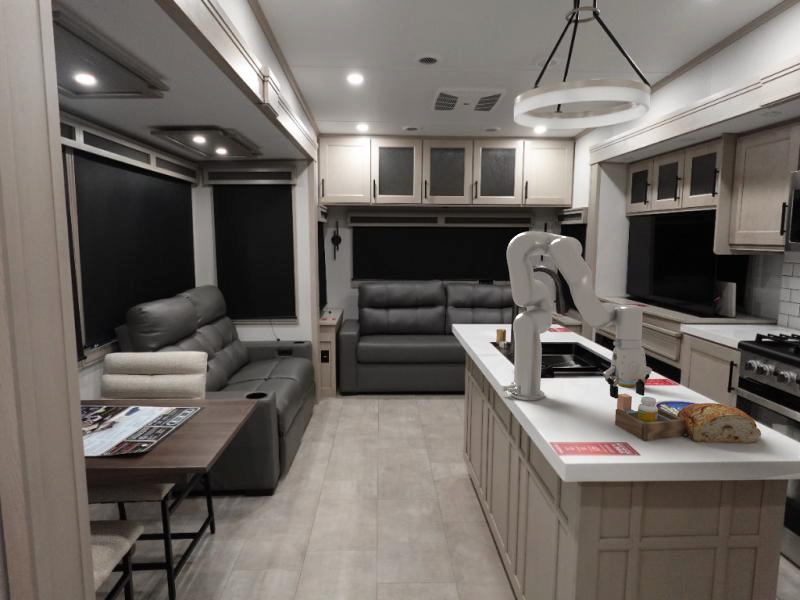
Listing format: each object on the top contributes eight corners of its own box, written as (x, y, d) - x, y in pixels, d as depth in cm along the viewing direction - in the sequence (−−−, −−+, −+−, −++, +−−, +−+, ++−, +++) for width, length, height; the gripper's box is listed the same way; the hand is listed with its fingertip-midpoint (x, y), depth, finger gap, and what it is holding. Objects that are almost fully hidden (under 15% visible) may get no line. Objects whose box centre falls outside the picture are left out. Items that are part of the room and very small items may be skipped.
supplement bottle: (634, 429, 150) (636, 398, 149) (640, 424, 154) (642, 394, 153) (653, 434, 146) (655, 402, 145) (658, 429, 150) (660, 398, 149)
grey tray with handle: (644, 437, 143) (645, 414, 142) (605, 416, 160) (606, 395, 159) (675, 433, 146) (677, 410, 145) (634, 413, 163) (636, 392, 162)
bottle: (639, 385, 193) (641, 348, 191) (629, 388, 189) (631, 350, 187) (622, 381, 199) (624, 345, 197) (612, 384, 195) (614, 347, 193)
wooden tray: (644, 441, 141) (645, 424, 141) (614, 424, 154) (615, 409, 153) (684, 436, 145) (686, 420, 144) (653, 420, 157) (654, 405, 156)
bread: (690, 443, 140) (693, 409, 139) (665, 420, 158) (668, 389, 157) (769, 447, 137) (772, 413, 136) (735, 423, 155) (737, 392, 154)
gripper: (612, 348, 151) (611, 402, 153) (660, 344, 155) (658, 396, 157) (597, 343, 158) (596, 395, 160) (643, 339, 162) (641, 390, 164)
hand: (627, 395), depth 159 cm, fingers open, 9 cm apart
